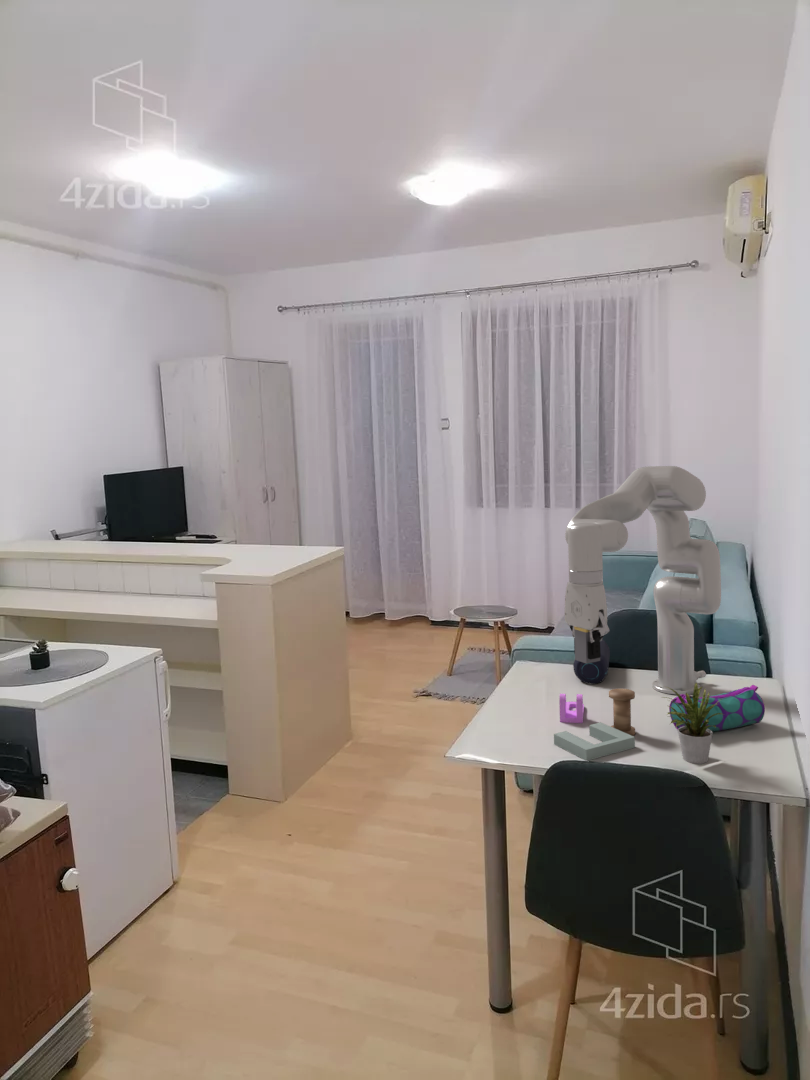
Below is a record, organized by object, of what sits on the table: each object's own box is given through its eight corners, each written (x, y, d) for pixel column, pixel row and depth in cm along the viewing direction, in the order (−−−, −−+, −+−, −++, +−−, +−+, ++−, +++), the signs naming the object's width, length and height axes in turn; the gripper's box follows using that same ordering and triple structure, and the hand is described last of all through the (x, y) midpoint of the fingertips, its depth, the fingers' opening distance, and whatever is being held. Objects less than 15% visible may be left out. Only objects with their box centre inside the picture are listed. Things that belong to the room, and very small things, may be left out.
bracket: (582, 724, 191) (582, 697, 190) (559, 722, 192) (559, 696, 192) (584, 706, 203) (583, 681, 203) (563, 706, 205) (562, 680, 204)
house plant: (658, 742, 176) (657, 673, 175) (722, 746, 172) (722, 676, 171) (659, 767, 163) (659, 692, 161) (729, 772, 159) (729, 695, 157)
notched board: (600, 732, 184) (600, 722, 184) (634, 747, 174) (634, 736, 174) (554, 744, 178) (553, 733, 178) (586, 760, 168) (586, 749, 168)
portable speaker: (578, 663, 244) (577, 633, 243) (610, 664, 242) (609, 633, 241) (572, 687, 221) (571, 653, 219) (608, 688, 218) (607, 654, 217)
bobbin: (623, 726, 187) (622, 687, 186) (640, 734, 182) (640, 693, 181) (604, 731, 185) (603, 691, 184) (621, 739, 179) (620, 697, 178)
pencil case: (690, 740, 177) (689, 700, 176) (668, 728, 186) (668, 689, 185) (767, 729, 182) (767, 689, 181) (742, 717, 190) (742, 679, 189)
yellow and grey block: (575, 659, 176) (574, 625, 175) (588, 657, 178) (588, 623, 177) (586, 663, 173) (585, 629, 172) (600, 660, 175) (599, 626, 174)
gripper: (549, 574, 179) (551, 651, 181) (597, 584, 164) (599, 667, 166) (575, 571, 182) (576, 646, 184) (624, 580, 167) (625, 661, 170)
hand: (587, 655), depth 175 cm, fingers closed on yellow and grey block, 4 cm apart
